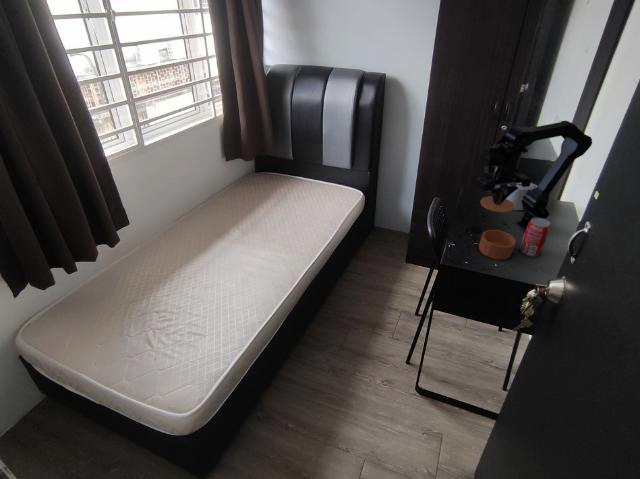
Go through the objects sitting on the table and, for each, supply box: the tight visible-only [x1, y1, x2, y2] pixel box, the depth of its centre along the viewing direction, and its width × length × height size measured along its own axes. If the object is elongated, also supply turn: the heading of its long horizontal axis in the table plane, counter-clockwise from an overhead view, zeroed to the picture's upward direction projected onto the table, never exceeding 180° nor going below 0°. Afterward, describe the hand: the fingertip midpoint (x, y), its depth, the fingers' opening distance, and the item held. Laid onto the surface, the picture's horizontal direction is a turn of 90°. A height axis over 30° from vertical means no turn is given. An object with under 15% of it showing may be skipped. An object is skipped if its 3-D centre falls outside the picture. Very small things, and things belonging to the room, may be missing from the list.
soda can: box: [519, 218, 551, 258], centre depth 138 cm, size 7×7×13 cm
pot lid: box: [480, 192, 514, 214], centre depth 145 cm, size 12×12×5 cm
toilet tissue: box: [506, 182, 538, 211], centre depth 169 cm, size 11×12×10 cm
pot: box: [478, 229, 517, 261], centre depth 140 cm, size 11×11×6 cm
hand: (497, 202), depth 146 cm, fingers closed on pot lid, 2 cm apart
